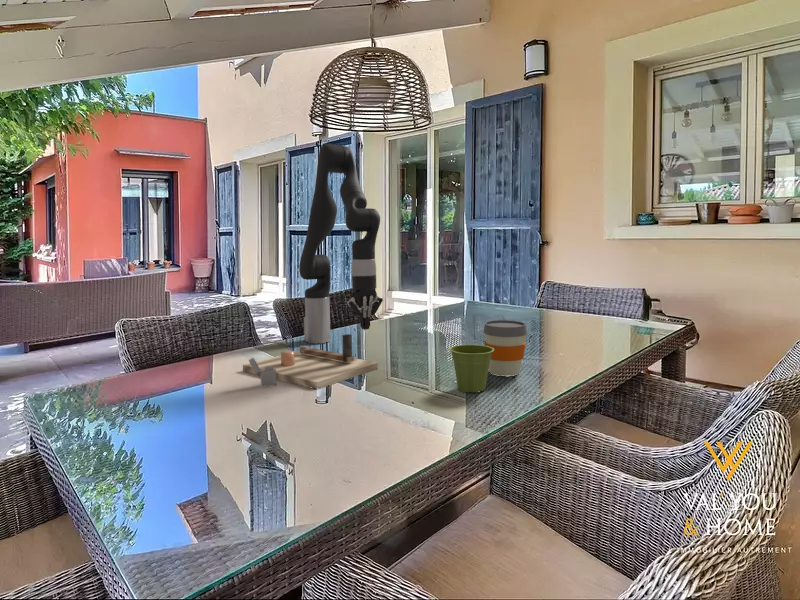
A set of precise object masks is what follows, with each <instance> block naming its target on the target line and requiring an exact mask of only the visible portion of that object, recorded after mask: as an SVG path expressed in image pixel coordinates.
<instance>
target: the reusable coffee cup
mask: <svg viewBox="0 0 800 600" xmlns="http://www.w3.org/2000/svg"><path fill="white" fill-rule="evenodd" d="M527 330H528V328H527V324H526V322H524V321H520V320H507V319H506V320H505V319H498V320H488V321H485V322H484V327H483V333H484V337H485V340H484V346H489V347H492V348H494V352H492V356H491V360H490V363H489V369H488V373H489V372H490V373H492V374H497V375H515V374H518V373H520V374H521V367H522V361H523V359H524V357H525V352H526V351H525V350H526V345H527V344H526V343H527V342H525V341H526V335H528V332H527ZM490 373H489V374H490Z"/></svg>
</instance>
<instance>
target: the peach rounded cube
mask: <svg viewBox="0 0 800 600" xmlns="http://www.w3.org/2000/svg"><path fill="white" fill-rule="evenodd" d="M294 352H295V351H294V350H282V351H281V352H280V355H281V366H293V365H295V361H294Z"/></svg>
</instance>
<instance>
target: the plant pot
mask: <svg viewBox="0 0 800 600" xmlns="http://www.w3.org/2000/svg"><path fill="white" fill-rule="evenodd" d="M448 350H449V351H450V352H451V356H452V360H453V365H454V373H455V379H456V384H457V385H456V386H457V389H459V390H458V391H460V392H462V391H463V393H465V392H468V393H473V392H478V391H482V390H484V389H485V390H486V386H487V380H488V374H489V363H490V360H491V356H492V352H494V348H492V347H489V346H485V345H482V344H457V345H453V346H450V347H449V349H448ZM485 390H484V391H485Z"/></svg>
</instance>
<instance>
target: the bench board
mask: <svg viewBox="0 0 800 600" xmlns="http://www.w3.org/2000/svg"><path fill="white" fill-rule="evenodd" d="M255 361H256V360H255ZM294 361H295V365H293V366H281V354H279V355H277V356H273V357H269V358H265V359H261V360H257V361H256V363H257V365H258V366H259V368H260V370H265V366H271V367H273V369H276V380H277V379H278V381H281V380H282V381H281V382H285V383H290V384H293V385H296V386H301V385H303V386H302V387H305V386H307V387H306V388H309V387H312V388H311V389H313V388H320V389H322V388H321V387H323V388H326V387H329V386H331V385H332V386H333V385H334V384H337V383H340V382H343V381H346V380H348V379H353V378H356V377H357V376H361V375H364V374H367V373H369V372H372V371H375V370H378V367H379V365H378V362H376V361H371V360H367V359H366V360H365V359H361V358H356V357H354V361H352V362H343V361H339V360H334V359H329V358H323V357H318V356H313V355H308V354H301V353H300V350H296V351H294ZM242 372H245V373H248V374H253V375H258V376H260V377H261V371H260V372H259V373H257V374H256V372H255V371H254V369H253V367H252V366H251V364H250V362H249V363H245V364H242ZM328 385H329V386H328ZM325 386H326V387H325Z"/></svg>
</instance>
